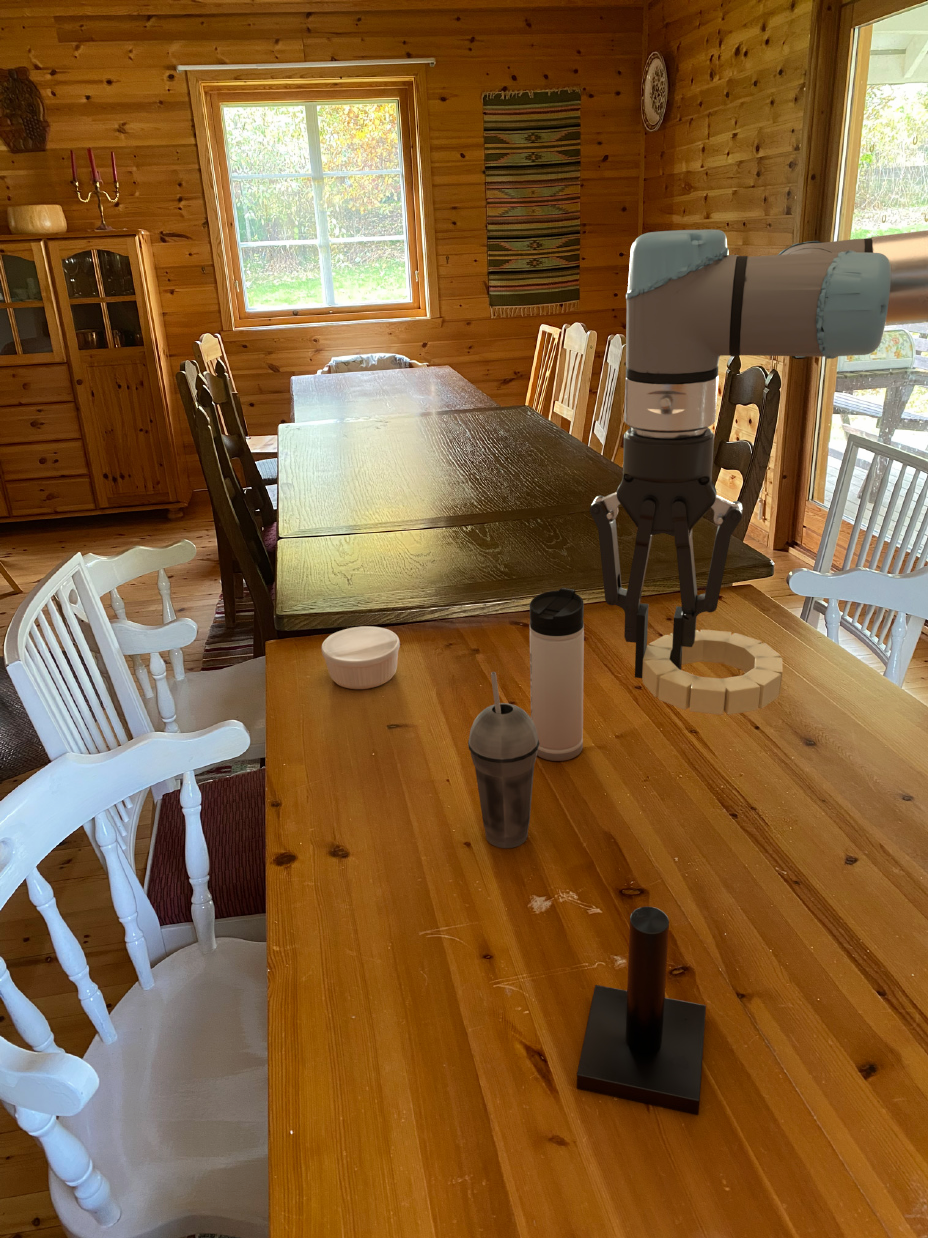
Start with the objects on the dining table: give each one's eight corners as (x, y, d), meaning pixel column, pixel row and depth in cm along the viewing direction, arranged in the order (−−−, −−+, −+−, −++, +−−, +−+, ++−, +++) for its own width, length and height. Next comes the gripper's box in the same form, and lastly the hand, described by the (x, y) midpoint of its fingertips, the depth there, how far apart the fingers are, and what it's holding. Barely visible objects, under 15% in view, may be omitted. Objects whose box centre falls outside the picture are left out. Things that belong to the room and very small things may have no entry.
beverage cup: (554, 831, 98) (553, 664, 89) (511, 866, 93) (506, 693, 85) (502, 806, 102) (496, 645, 94) (458, 838, 97) (448, 671, 89)
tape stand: (704, 1018, 75) (716, 888, 69) (698, 1115, 67) (710, 977, 61) (595, 997, 77) (597, 870, 72) (576, 1088, 69) (577, 953, 64)
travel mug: (591, 740, 114) (594, 592, 105) (569, 767, 109) (570, 613, 100) (546, 729, 117) (545, 583, 108) (522, 754, 112) (519, 604, 103)
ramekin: (371, 701, 125) (368, 666, 123) (308, 683, 131) (304, 650, 129) (417, 667, 134) (414, 634, 132) (356, 652, 139) (353, 620, 137)
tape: (779, 658, 90) (782, 636, 89) (780, 721, 79) (783, 697, 78) (651, 646, 93) (652, 625, 92) (635, 705, 82) (636, 682, 81)
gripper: (569, 436, 77) (569, 683, 86) (765, 440, 72) (742, 700, 82) (585, 416, 83) (583, 648, 93) (766, 419, 79) (744, 663, 88)
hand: (658, 672), depth 87 cm, fingers closed on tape, 3 cm apart
